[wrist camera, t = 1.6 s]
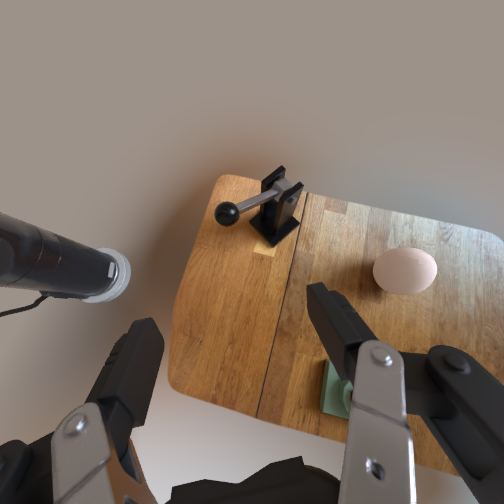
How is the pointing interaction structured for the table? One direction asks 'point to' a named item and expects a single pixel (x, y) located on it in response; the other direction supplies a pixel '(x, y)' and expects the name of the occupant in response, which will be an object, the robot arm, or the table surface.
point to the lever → (249, 203)
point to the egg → (404, 270)
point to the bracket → (277, 211)
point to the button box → (335, 393)
